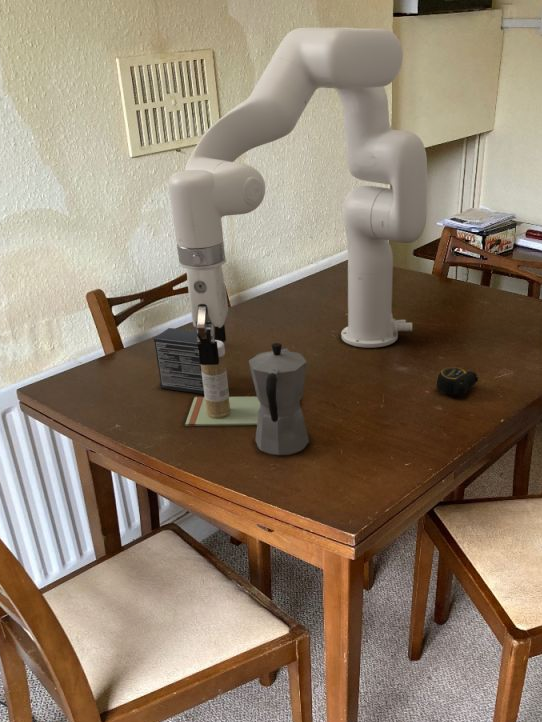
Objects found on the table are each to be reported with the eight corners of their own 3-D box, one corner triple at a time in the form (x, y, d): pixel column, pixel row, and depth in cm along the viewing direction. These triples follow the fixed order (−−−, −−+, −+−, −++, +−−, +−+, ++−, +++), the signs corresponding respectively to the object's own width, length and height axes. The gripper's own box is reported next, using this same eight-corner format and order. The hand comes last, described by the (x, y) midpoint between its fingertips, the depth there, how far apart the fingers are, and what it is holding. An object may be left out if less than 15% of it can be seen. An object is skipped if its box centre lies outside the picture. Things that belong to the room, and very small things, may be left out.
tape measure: (462, 402, 144) (463, 383, 142) (429, 393, 147) (430, 375, 145) (477, 388, 149) (479, 370, 147) (445, 380, 152) (447, 363, 150)
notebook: (299, 397, 147) (299, 395, 146) (296, 424, 137) (296, 422, 137) (194, 398, 147) (194, 396, 146) (185, 426, 138) (185, 423, 137)
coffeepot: (260, 424, 138) (253, 327, 128) (313, 425, 137) (310, 328, 127) (246, 468, 125) (237, 365, 115) (304, 470, 124) (300, 366, 114)
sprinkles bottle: (222, 405, 143) (215, 336, 136) (235, 413, 140) (229, 344, 133) (201, 412, 141) (192, 343, 133) (214, 421, 138) (206, 351, 130)
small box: (223, 382, 153) (218, 331, 147) (208, 396, 148) (202, 344, 142) (176, 375, 156) (169, 325, 150) (159, 388, 151) (151, 337, 145)
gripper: (217, 270, 117) (229, 373, 127) (230, 238, 131) (240, 333, 141) (169, 271, 117) (184, 374, 127) (186, 239, 132) (199, 334, 141)
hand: (213, 352), depth 134 cm, fingers open, 9 cm apart
